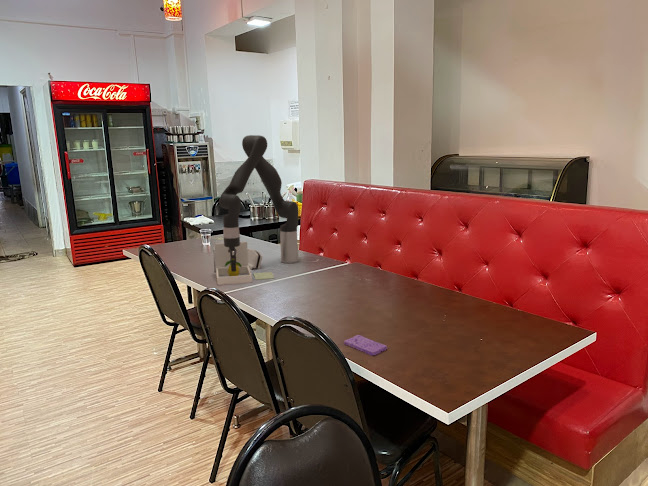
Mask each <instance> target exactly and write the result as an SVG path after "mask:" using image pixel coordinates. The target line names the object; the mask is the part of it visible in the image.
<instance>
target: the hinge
mask: <svg viewBox="0 0 648 486" xmlns="http://www.w3.org/2000/svg"><path fill="white" fill-rule="evenodd" d="M247 251H248V266H249V269H250V271H253V269H258V270H260V268H261V265H262V260H263V255H262V253H260V252H259V251H258V250H255V249H253V248H252V249H251V248H247Z"/></svg>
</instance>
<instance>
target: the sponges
mask: <svg viewBox="0 0 648 486" xmlns="http://www.w3.org/2000/svg"><path fill="white" fill-rule="evenodd" d="M343 342H344V345H345V344H346V345H345V346H347V345H349V346H351V347H350V348H352V347H353V349H354V348H356V349H355V350H357V349H358V351H359V350H360V351H359V352H362V351H363V352H362V353H364V352H365V354H367V355H369V356H373V355H374V356H376V355H378V354H381V353H382V352H384V351H386V349H387V350H388V347H387V345H385V344H383V343H380V342H377V341H374V340H372V339H369V338H367V337H364V336H363V335H360V334H356V335H354V336H352V337H350V338H348V339H345V340H344V341H343ZM349 346H348V347H349ZM381 351H382V352H381Z"/></svg>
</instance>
